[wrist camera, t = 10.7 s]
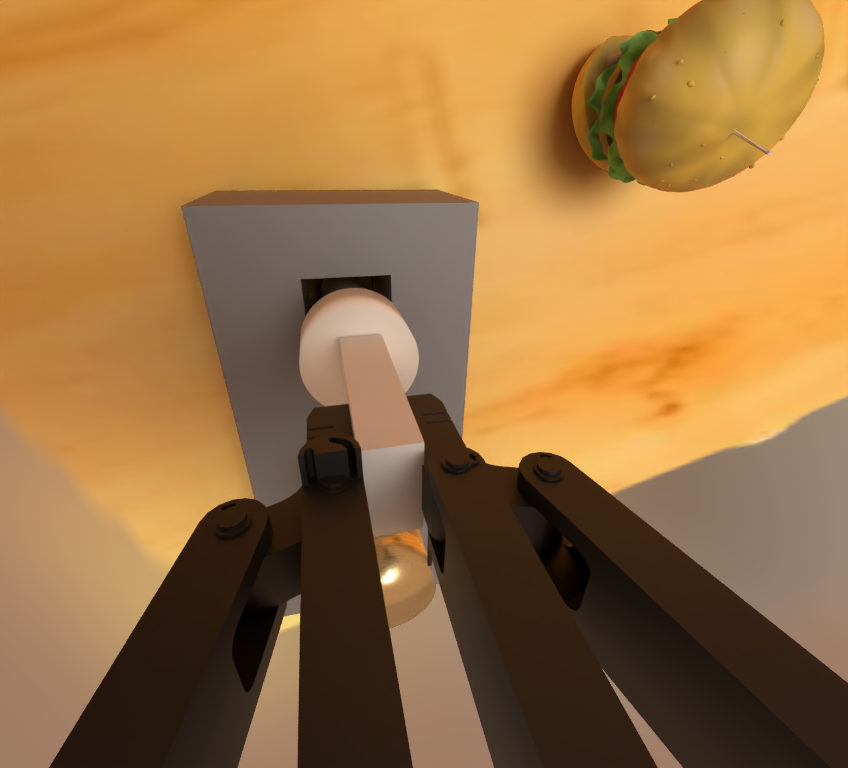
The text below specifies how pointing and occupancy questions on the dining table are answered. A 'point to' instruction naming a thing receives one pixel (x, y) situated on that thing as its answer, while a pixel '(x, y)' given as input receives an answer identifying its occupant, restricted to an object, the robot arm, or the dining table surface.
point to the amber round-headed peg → (404, 575)
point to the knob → (349, 317)
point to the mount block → (289, 303)
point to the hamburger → (698, 92)
